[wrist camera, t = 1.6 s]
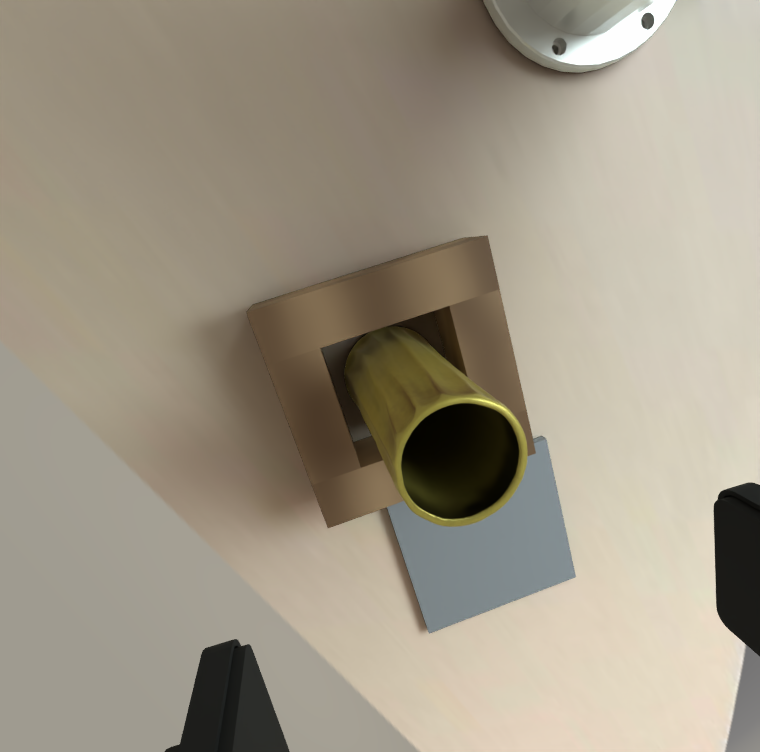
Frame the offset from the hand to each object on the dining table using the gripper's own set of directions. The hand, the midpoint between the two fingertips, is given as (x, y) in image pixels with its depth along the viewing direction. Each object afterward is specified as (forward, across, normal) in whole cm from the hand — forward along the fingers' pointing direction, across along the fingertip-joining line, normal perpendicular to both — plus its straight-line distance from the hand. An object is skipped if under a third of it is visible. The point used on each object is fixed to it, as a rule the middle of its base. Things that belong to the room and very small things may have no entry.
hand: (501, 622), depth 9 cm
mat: (+23, -6, +15) cm, 28 cm away
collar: (+23, -2, +1) cm, 23 cm away
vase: (+23, -2, +1) cm, 23 cm away
